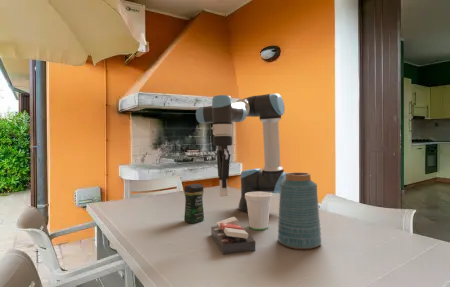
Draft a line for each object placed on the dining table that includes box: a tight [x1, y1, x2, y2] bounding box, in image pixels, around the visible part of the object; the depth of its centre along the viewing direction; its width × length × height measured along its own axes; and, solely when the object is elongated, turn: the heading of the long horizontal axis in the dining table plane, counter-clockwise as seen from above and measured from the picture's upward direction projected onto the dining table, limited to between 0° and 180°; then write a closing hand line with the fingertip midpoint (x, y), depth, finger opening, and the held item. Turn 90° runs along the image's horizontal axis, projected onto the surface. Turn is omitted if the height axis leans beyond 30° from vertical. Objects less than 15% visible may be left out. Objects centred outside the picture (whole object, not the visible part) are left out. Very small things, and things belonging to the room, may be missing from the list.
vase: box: [277, 171, 322, 251], centre depth 105 cm, size 16×16×27 cm
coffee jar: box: [183, 183, 205, 224], centre depth 136 cm, size 10×8×19 cm
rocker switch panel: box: [210, 223, 256, 256], centre depth 110 cm, size 12×28×5 cm, turn 14°
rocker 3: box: [224, 228, 249, 238], centre depth 100 cm, size 8×5×2 cm, turn 105°
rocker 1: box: [215, 216, 239, 229], centre depth 113 cm, size 8×5×2 cm, turn 104°
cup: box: [245, 192, 273, 231], centre depth 124 cm, size 12×12×15 cm
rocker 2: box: [220, 223, 244, 230], centre depth 107 cm, size 8×5×2 cm, turn 104°
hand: (223, 195), depth 106 cm, fingers closed
